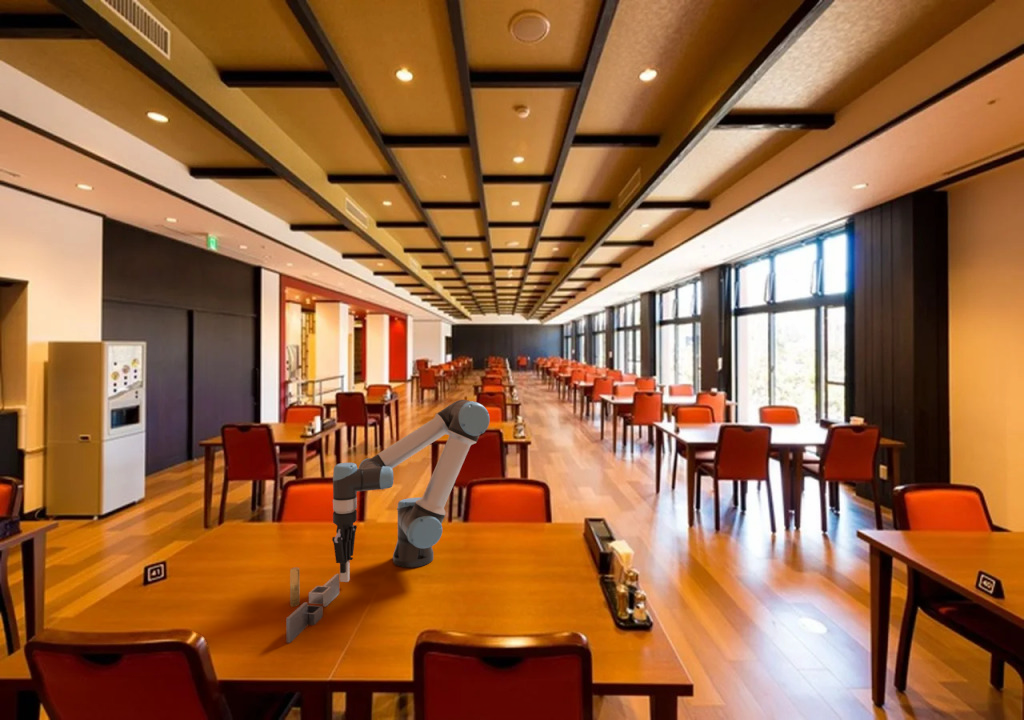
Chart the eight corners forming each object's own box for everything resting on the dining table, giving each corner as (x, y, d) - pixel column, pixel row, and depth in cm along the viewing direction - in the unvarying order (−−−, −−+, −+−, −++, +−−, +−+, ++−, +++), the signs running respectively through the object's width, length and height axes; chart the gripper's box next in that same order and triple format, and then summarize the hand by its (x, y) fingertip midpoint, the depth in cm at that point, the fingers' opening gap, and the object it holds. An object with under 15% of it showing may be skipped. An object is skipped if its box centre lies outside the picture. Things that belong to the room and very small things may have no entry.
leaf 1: (308, 615, 145) (308, 593, 145) (322, 616, 145) (322, 594, 145) (280, 642, 132) (280, 617, 132) (296, 643, 131) (296, 619, 131)
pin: (293, 602, 153) (293, 567, 153) (301, 602, 153) (301, 567, 153) (288, 606, 151) (288, 570, 151) (296, 606, 150) (296, 571, 150)
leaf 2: (331, 593, 159) (331, 573, 159) (344, 594, 158) (344, 574, 158) (308, 614, 146) (308, 592, 146) (323, 615, 145) (323, 593, 145)
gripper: (343, 504, 170) (343, 571, 170) (324, 515, 157) (324, 589, 157) (364, 505, 169) (363, 573, 169) (346, 517, 156) (346, 590, 156)
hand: (344, 580), depth 163 cm, fingers closed
